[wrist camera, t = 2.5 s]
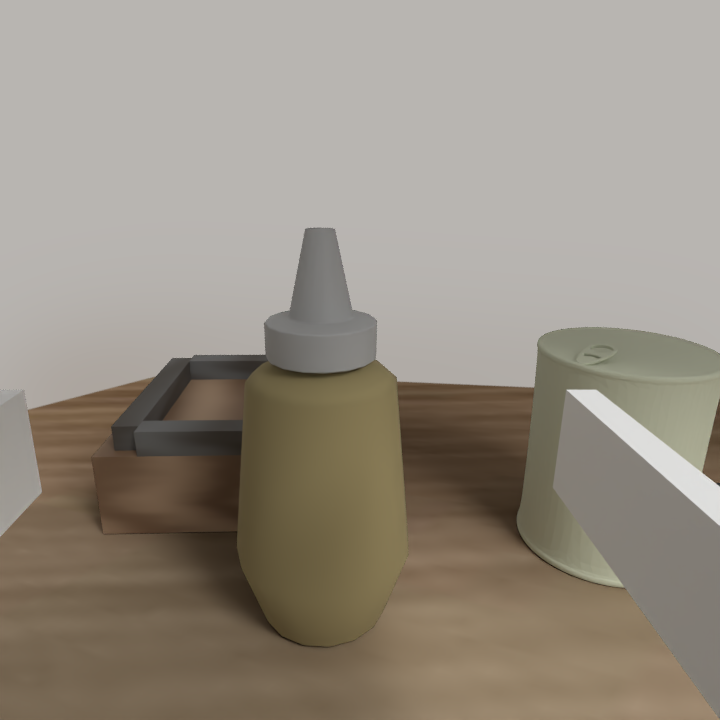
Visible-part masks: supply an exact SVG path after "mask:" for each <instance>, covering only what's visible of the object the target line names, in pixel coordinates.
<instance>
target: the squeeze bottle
mask: <svg viewBox="0 0 720 720" xmlns="http://www.w3.org/2000/svg"><path fill="white" fill-rule="evenodd" d="M264 329H265V350H266V357H267V359H268V361H267V362H265V363H263V364H262V365H260V366H259V367H258V368H257V369H256V370H255V371H254V372H252V374H251V375H250V376H249V378H248V379H247V380H246V382H245V388H244V408H243V429H242V449H241V469H240V490H239V510H238V531H237V550H238V555H239V560H240V565H241V569H242V571H243V573H244V575H245V577H246V579H247V581H248V583H249V585H250V586H251V588H252V590H253V592H254V594H255V596H256V598H257V600H258V602H259V604H260V606H261V608H262V610H263V612H264V614H265V616H266V618H267V620H268V622H269V623H270V624H271V625H272V626H273V627H274V628H275V629H276V630H277V631H278V633H279V634H280V635H281V636H283V637H285V638H288V639H290V640H292V641H295V642H297V643H300V644H302V645H308V646H325V647H330V646H334V645H338V644H342V643H346V642H350V641H354V640H355V639H357V638H358V637H360V636H361V635H363V634H364V633H366V632H367V631H369V630H370V629H372V628H373V627H374V625H375V623H376V622H377V620H378V619H379V617H380V615H381V614H382V612H383V610H384V608H385V606H386V604H387V601H388V599H389V597H390V595H391V592H392V590H393V588H394V586H395V584H396V581H397V579H398V577H399V575H400V572H401V570H402V568H403V566H404V564H405V561H406V559H407V557H408V530H407V516H406V502H405V488H404V474H403V460H402V446H401V432H400V418H399V404H398V390H397V377H396V376H394V375H393V374H392V373H391V372H390V371H389V370H388V369H387V368H385V367H384V366H383V365H382V364H381V363H380V362H378V361H377V360H375V358H376V337H377V334H376V333H377V320H376V319H375V318H373V317H372V316H370V315H369V314H366V313H363V312H359V311H355V310H352V307H351V302H350V298H349V293H348V288H347V284H346V279H345V274H344V270H343V265H342V260H341V255H340V251H339V246H338V241H337V238H336V232H335V229H333V228H307V229H305V233H304V238H303V244H302V249H301V254H300V259H299V265H298V270H297V275H296V281H295V286H294V291H293V296H292V302H291V307H290V311H285V312H281V313H278V314H275V315H272V316H270V317H269V318H268V319H267V320H266V322H265V323H264Z"/></svg>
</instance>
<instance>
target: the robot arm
mask: <svg viewBox="0 0 720 720" xmlns="http://www.w3.org/2000/svg"><path fill="white" fill-rule="evenodd" d="M553 489H554V490H555V491H556V493H557V494H558V496H559V497H560V498H561V500H562V501H563V502H564V504H565V505H566V507H567V508H568V509H569V511H570V512H571V514H572V515H573V516H574V518H575V519H576V520H577V522H578V523H579V525H580V526H581V527H582V529H583V530H584V532H585V533H586V534H587V536H588V537H589V539H590V540H591V541H592V543H593V544H594V545H595V547H596V548H597V550H598V551H599V552H600V554H601V555H602V557H603V558H604V559H605V561H606V562H607V564H608V565H609V566H610V568H611V569H612V570H613V572H614V573H615V575H616V576H617V577H618V579H619V580H620V582H621V583H622V584H623V586H624V587H625V588H626V590H627V591H628V593H629V594H630V595H631V597H632V598H633V600H634V601H635V602H636V604H637V605H638V607H639V608H640V609H641V611H642V612H643V613H644V615H645V616H646V618H647V619H648V620H649V622H650V623H651V625H652V626H653V627H654V629H655V630H656V632H657V633H658V634H659V636H660V637H661V638H662V640H663V641H664V643H665V644H666V645H667V647H668V648H669V650H670V651H671V652H672V654H673V655H674V656H675V658H676V659H677V661H678V662H679V663H680V665H681V666H682V668H683V669H684V670H685V672H686V673H687V675H688V676H689V677H690V679H691V680H692V681H693V683H694V684H695V686H696V687H697V688H698V690H699V691H700V693H701V694H702V695H703V697H704V698H705V700H706V701H707V702H708V704H709V705H710V706H711V708H712V709H713V711H714V712H715V713H716V715H717V716H718V718H720V483H714V482H713V481H712V480H711V479H709V478H708V477H707V476H706V475H704V474H703V473H702V472H700V471H699V470H698V469H697V468H695V467H694V466H693V465H692V464H690V463H689V462H688V461H686V460H685V459H684V458H683V457H681V456H680V455H679V454H678V453H676V452H675V451H674V450H672V449H671V448H670V447H669V446H667V445H666V444H665V443H664V442H662V441H661V440H660V439H658V438H657V437H656V436H655V435H653V434H652V433H651V432H650V431H648V430H647V429H646V428H645V427H643V426H642V425H641V424H639V423H638V422H637V421H636V420H634V419H633V418H632V417H631V416H629V415H628V414H627V413H625V412H624V411H623V410H622V409H620V408H619V407H618V406H617V405H615V404H614V403H613V402H611V401H610V400H609V399H608V398H606V397H605V396H604V395H603V394H601V393H600V392H599V391H597V390H566V395H565V402H564V409H563V417H562V424H561V431H560V438H559V446H558V453H557V460H556V467H555V475H554V482H553ZM41 493H42V489H41V483H40V478H39V472H38V466H37V461H36V455H35V449H34V444H33V438H32V432H31V427H30V421H29V416H28V410H27V405H26V399H25V393H24V390H0V536H1V535H2V534H3V533H4V532H5V531H6V530H7V529H8V528H9V527H10V526H11V525H12V524H13V523H14V522H15V520H16V519H17V518H18V517H19V516H20V515H21V514H22V513H23V512H24V511H25V510H26V509H27V508H28V507H29V506H30V505H31V503H32V502H33V501H34V500H35V499H36V498H37V497H38V496H39V495H40V494H41Z"/></svg>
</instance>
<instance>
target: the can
mask: <svg viewBox="0 0 720 720" xmlns="http://www.w3.org/2000/svg"><path fill="white" fill-rule="evenodd" d="M537 346H538V356H537V367H536V377H535V387H534V397H533V407H532V417H531V425H530V434H529V443H528V452H527V460H526V469H525V477H524V485H523V492H522V499H521V505H520V508H519V510H518V513H517V527H518V530H519V533H520V535H521V537H522V538H523V540H524V541H525V543H526V544H527V545H528V546H529V547H530V548H531V550H532V551H533V552H535V553H536V554H537V555H538V556H539V557H541V558H542V559H543V560H545V561H546V562H548V563H549V564H551V565H553V566H554V567H556V568H558V569H560V570H562V571H564V572H566V573H568V574H570V575H573V576H575V577H578V578H580V579H583V580H586V581H590V582H593V583H597V584H602V585H606V586H612V587H619V588H625V587H624V586H623V584H622V583H621V582H620V580H619V579H618V577H617V576H616V575H615V573H614V572H613V570H612V569H611V568H610V566H609V565H608V564H607V562H606V561H605V559H604V558H603V557H602V555H601V554H600V552H599V551H598V550H597V548H596V547H595V545H594V544H593V543H592V541H591V540H590V539H589V537H588V536H587V534H586V533H585V532H584V530H583V529H582V527H581V526H580V525H579V523H578V522H577V520H576V519H575V518H574V516H573V515H572V514H571V512H570V511H569V509H568V508H567V507H566V505H565V504H564V502H563V501H562V500H561V498H560V497H559V496H558V494H557V493H556V491H555V490H554V489H553V482H554V475H555V467H556V460H557V453H558V446H559V438H560V431H561V424H562V417H563V409H564V402H565V395H566V390H597V391H599V392H600V393H601V394H603V395H604V396H605V397H606V398H608V399H609V400H610V401H611V402H613V403H614V404H615V405H617V406H618V407H619V408H620V409H622V410H623V411H624V412H625V413H627V414H628V415H629V416H631V417H632V418H633V419H634V420H636V421H637V422H638V423H639V424H641V425H642V426H643V427H645V428H646V429H647V430H648V431H650V432H651V433H652V434H653V435H655V436H656V437H657V438H658V439H660V440H661V441H662V442H664V443H665V444H666V445H667V446H669V447H670V448H671V449H672V450H674V451H675V452H676V453H678V454H679V455H680V456H681V457H683V458H684V459H685V460H686V461H688V462H689V463H690V464H692V465H693V466H694V467H695V468H697V469H698V470H699V471H700V472H702V470H703V466H704V462H705V457H706V453H707V448H708V444H709V440H710V436H711V431H712V427H713V423H714V419H715V415H716V410H717V406H718V402H719V399H720V354H719V353H718V352H716V351H714V350H712V349H710V348H707V347H705V346H703V345H699V344H697V343H694V342H691V341H687V340H684V339H680V338H676V337H671V336H666V335H662V334H657V333H651V332H645V331H638V330H629V329H619V328H601V327H583V328H568V329H561V330H556V331H552V332H549V333H547V334H544V335H543V336H541V337H540V338H539V340H538V343H537Z"/></svg>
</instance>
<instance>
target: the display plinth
mask: <svg viewBox="0 0 720 720" xmlns="http://www.w3.org/2000/svg"><path fill="white" fill-rule="evenodd" d="M267 361H268V359H267V357H266V355H194V356H193V357H192V358H173V359H171V361H169V363H168V364H167V365H166V366H165V367H164V368H163V369H162V370H161V372H160V373H159V374H158V375H157V376H156V377H155V378H154V379H153V380H152V382H151V383H150V384H149V385H148V386H147V387H146V388H145V389H144V391H143V392H142V393H141V394H140V395H139V396H138V397H137V398H136V399H135V401H134V402H133V403H132V404H131V405H130V406H129V407H128V408H127V410H126V411H125V412H124V413H123V414H122V415H121V416H120V417H119V419H118V420H117V421H116V422H115V423H114V424H113V425H112V426H111V429H112V434H111V435H110V436H109V437H108V438H107V440H106V441H105V442H104V443H103V444H102V445H101V447H100V448H99V449H98V450H97V451H96V452H95V453H94V455H93V456H92V457H91V459H92V465H93V471H94V478H95V484H96V491H97V497H98V503H99V510H100V516H101V522H102V529H103V534H124V533H175V532H226V531H238V510H239V490H240V469H241V449H242V429H243V408H244V388H245V382H246V380H247V379H248V378H249V376H250V375H251V374H252V372H254V371H255V370H256V369H257V368H258V367H259V366H260V365H262V364H263V363H265V362H267Z"/></svg>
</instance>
